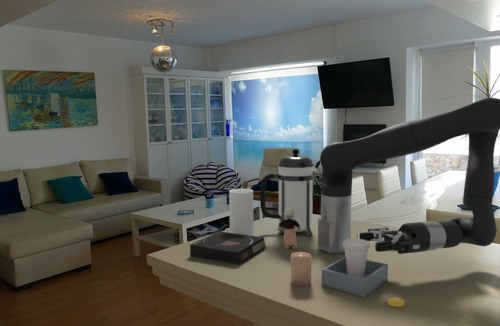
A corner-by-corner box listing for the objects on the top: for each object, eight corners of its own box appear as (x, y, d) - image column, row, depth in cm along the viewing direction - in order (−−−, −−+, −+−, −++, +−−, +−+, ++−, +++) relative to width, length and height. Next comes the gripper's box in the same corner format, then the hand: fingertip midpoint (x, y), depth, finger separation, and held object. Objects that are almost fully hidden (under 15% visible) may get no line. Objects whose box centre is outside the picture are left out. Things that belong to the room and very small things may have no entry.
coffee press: (295, 224, 161) (295, 146, 158) (325, 233, 148) (325, 148, 145) (259, 231, 151) (258, 148, 148) (287, 241, 138) (287, 151, 135)
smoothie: (370, 285, 99) (371, 228, 98) (342, 284, 101) (343, 227, 99) (367, 276, 106) (368, 222, 104) (342, 274, 107) (342, 221, 106)
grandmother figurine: (299, 245, 134) (300, 206, 133) (302, 248, 130) (302, 208, 129) (276, 245, 134) (276, 207, 132) (278, 249, 130) (277, 209, 128)
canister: (297, 287, 100) (297, 259, 99) (287, 280, 105) (287, 253, 104) (315, 284, 102) (315, 256, 102) (304, 277, 107) (304, 250, 106)
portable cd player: (240, 266, 116) (240, 252, 116) (190, 257, 124) (190, 244, 124) (265, 250, 131) (265, 237, 130) (219, 243, 139) (219, 231, 138)
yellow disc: (395, 308, 89) (395, 306, 89) (383, 302, 92) (383, 299, 92) (407, 305, 90) (408, 302, 90) (395, 299, 93) (395, 296, 93)
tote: (365, 297, 95) (365, 280, 94) (321, 285, 102) (322, 269, 101) (387, 279, 105) (387, 264, 104) (346, 269, 112) (346, 255, 111)
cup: (229, 232, 149) (228, 188, 148) (252, 232, 150) (251, 188, 148) (230, 239, 141) (229, 192, 140) (254, 238, 142) (254, 192, 140)
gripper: (405, 216, 114) (352, 220, 109) (442, 229, 100) (383, 235, 96) (404, 242, 115) (351, 248, 110) (441, 259, 101) (382, 266, 97)
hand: (366, 242), depth 103 cm, fingers open, 8 cm apart
